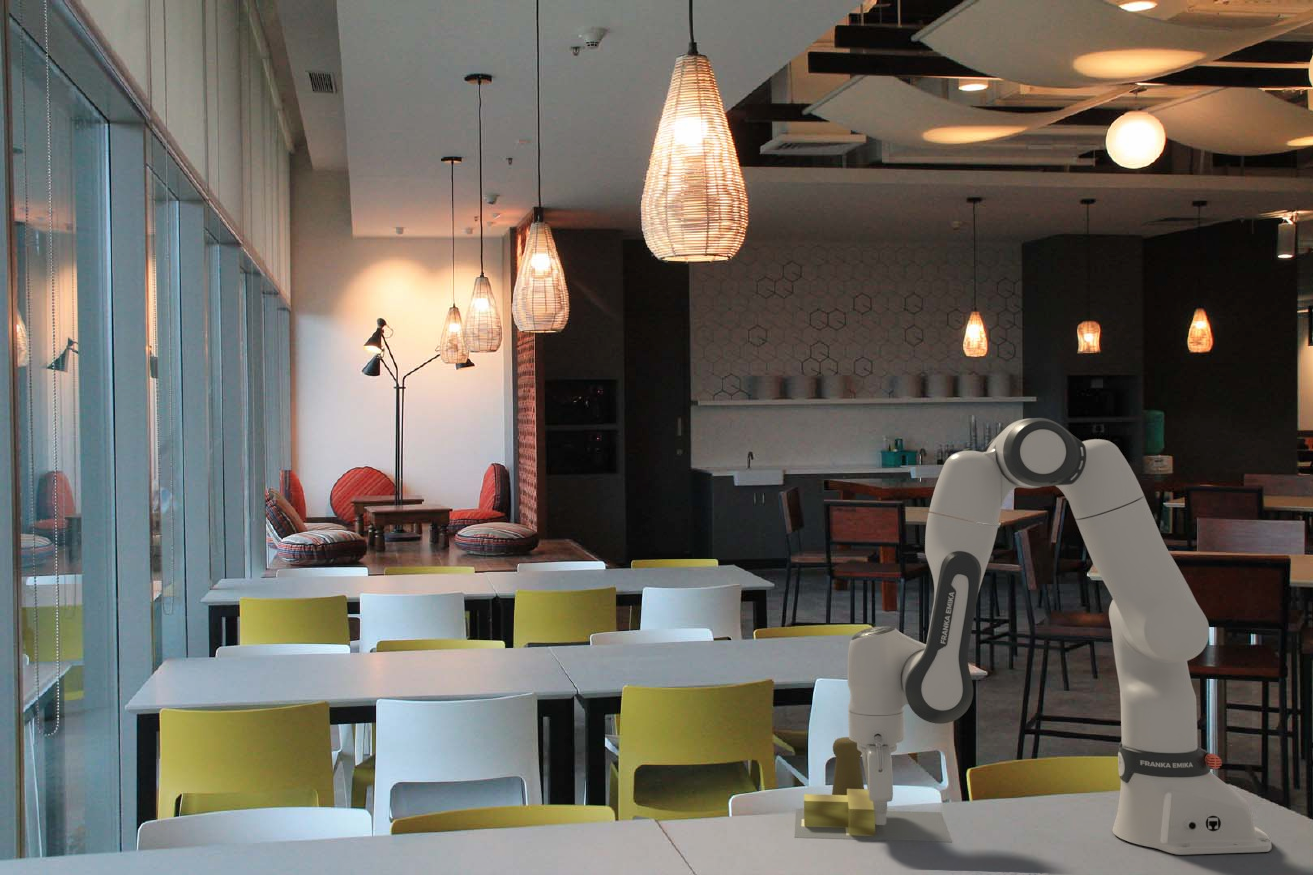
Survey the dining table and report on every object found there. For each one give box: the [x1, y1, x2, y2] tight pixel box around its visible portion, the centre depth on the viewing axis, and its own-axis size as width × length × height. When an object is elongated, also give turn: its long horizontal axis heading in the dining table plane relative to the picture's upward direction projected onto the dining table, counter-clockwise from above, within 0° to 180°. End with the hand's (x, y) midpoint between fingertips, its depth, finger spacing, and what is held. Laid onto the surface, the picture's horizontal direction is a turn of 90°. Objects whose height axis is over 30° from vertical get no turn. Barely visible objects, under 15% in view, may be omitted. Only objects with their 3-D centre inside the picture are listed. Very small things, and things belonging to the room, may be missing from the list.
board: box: [794, 808, 953, 843], centre depth 193 cm, size 24×16×1 cm, turn 83°
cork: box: [831, 736, 865, 795], centre depth 210 cm, size 6×6×11 cm
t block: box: [803, 788, 875, 835], centre depth 194 cm, size 11×12×4 cm
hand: (878, 814), depth 193 cm, fingers open, 8 cm apart
